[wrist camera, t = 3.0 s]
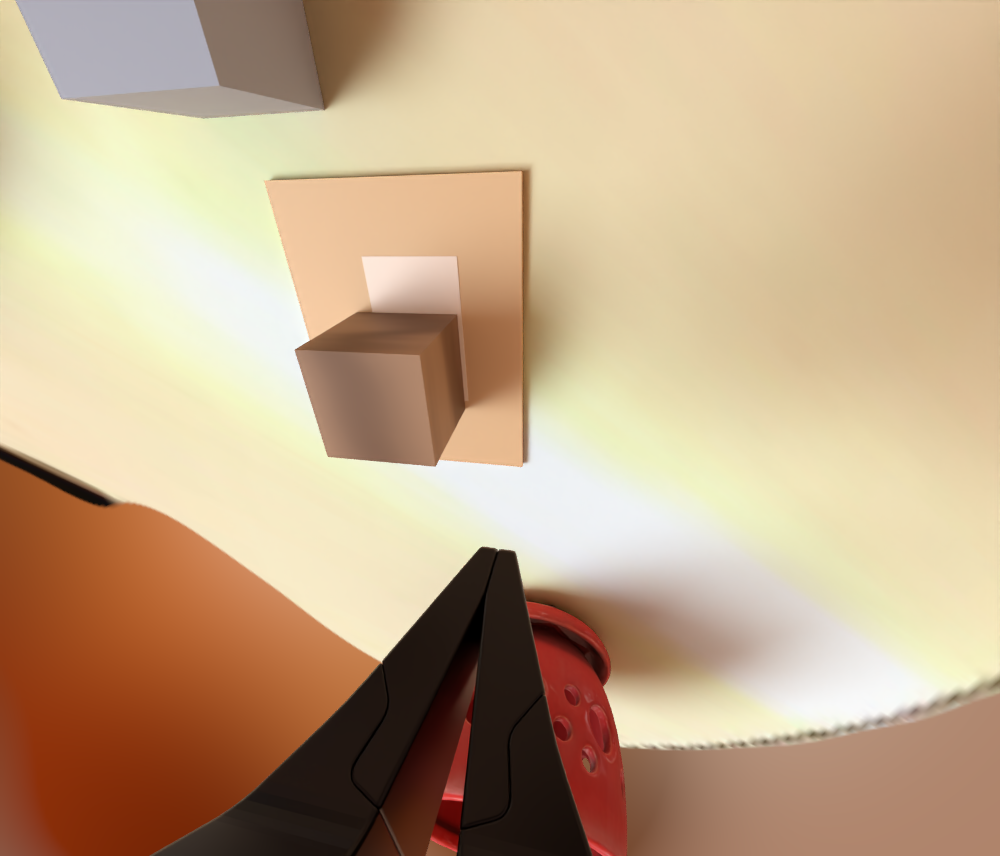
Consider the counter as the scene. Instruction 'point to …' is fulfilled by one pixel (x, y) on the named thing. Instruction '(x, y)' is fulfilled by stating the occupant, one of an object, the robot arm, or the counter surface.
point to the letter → (422, 277)
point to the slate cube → (179, 54)
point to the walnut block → (386, 386)
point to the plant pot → (564, 733)
